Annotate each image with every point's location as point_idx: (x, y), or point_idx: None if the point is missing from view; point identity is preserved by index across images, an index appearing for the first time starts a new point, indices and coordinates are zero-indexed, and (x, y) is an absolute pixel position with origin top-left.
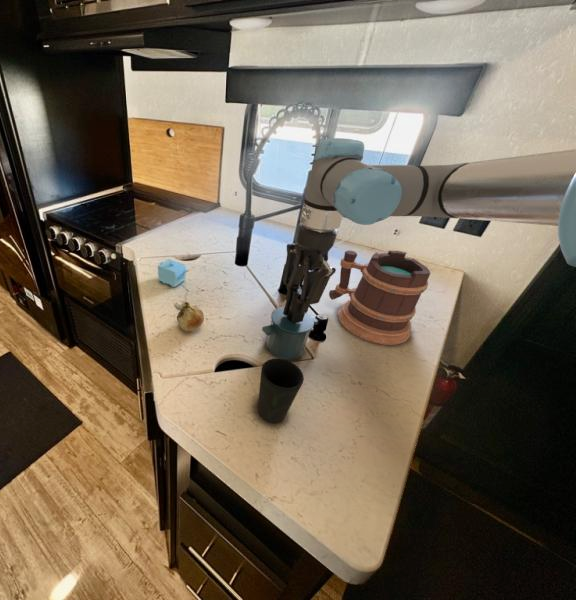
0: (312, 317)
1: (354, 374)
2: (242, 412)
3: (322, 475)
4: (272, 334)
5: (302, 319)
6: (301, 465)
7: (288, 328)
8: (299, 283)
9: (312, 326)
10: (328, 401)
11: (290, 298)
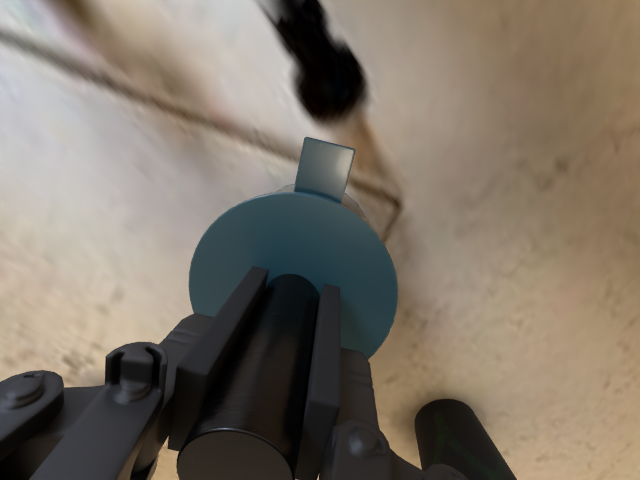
0: (317, 152)
1: (532, 145)
2: None
3: (600, 445)
4: None
5: (338, 296)
6: (560, 457)
7: None
8: (124, 470)
9: (391, 266)
10: (523, 302)
11: None
